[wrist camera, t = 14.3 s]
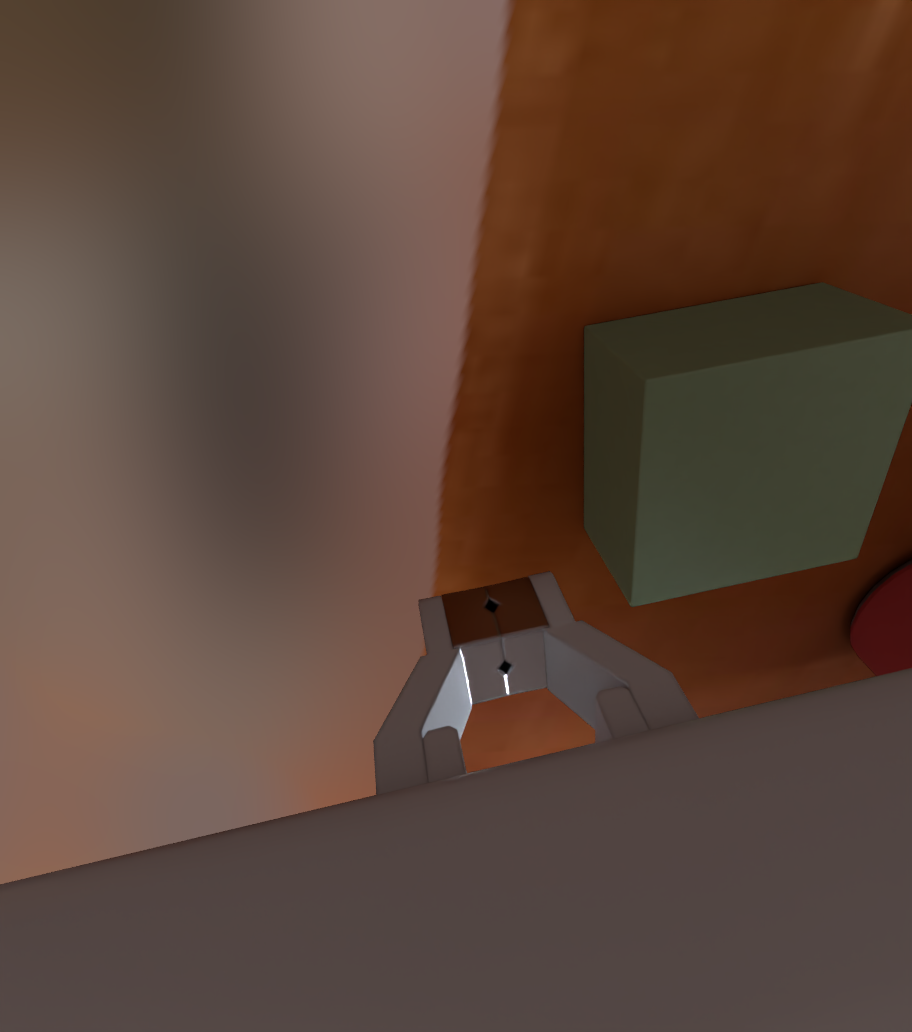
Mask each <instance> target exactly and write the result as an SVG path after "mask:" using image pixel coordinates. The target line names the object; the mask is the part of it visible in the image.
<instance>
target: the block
mask: <svg viewBox="0 0 912 1032" xmlns="http://www.w3.org/2000/svg"><path fill="white" fill-rule="evenodd" d="M911 403H912V315H911V314H908V313H906V312H903V311H900V310H897V309H895V308H892V307H889V306H886V305H884V304H881V303H878V302H875V301H873V300H870V299H867V298H864V297H862V296H859V295H856V294H853V293H851V292H848V291H845V290H842V289H840V288H837V287H834V286H831V285H829V284H826V283H823V282H822V283H816V284H811V285H805V286H800V287H795V288H789V289H784V290H778V291H773V292H767V293H762V294H757V295H751V296H746V297H740V298H735V299H729V300H724V301H718V302H713V303H708V304H702V305H697V306H691V307H686V308H680V309H675V310H670V311H664V312H659V313H653V314H648V315H642V316H637V317H631V318H626V319H621V320H615V321H610V322H604V323H599V324H593V325H588V326H585V327H584V529H585V530H586V532H587V534H588V535H589V537H590V539H591V541H592V542H593V544H594V546H595V547H596V549H597V551H598V552H599V554H600V556H601V557H602V559H603V561H604V562H605V564H606V566H607V567H608V569H609V571H610V573H611V574H612V576H613V578H614V579H615V581H616V583H617V584H618V586H619V588H620V589H621V591H622V593H623V594H624V596H625V598H626V599H627V601H628V603H629V605H630V606H631V607H635V606H639V605H644V604H649V603H653V602H658V601H662V600H667V599H672V598H676V597H681V596H685V595H690V594H695V593H699V592H704V591H708V590H713V589H718V588H722V587H727V586H731V585H736V584H741V583H745V582H750V581H755V580H759V579H764V578H768V577H773V576H778V575H782V574H787V573H791V572H796V571H801V570H805V569H810V568H814V567H819V566H824V565H828V564H833V563H837V562H842V561H847V560H851V559H856V558H857V557H858V554H859V551H860V549H861V546H862V543H863V540H864V537H865V534H866V532H867V529H868V526H869V523H870V520H871V517H872V514H873V512H874V509H875V506H876V503H877V500H878V497H879V494H880V492H881V489H882V486H883V483H884V480H885V477H886V474H887V472H888V469H889V466H890V463H891V460H892V457H893V455H894V452H895V449H896V446H897V443H898V440H899V437H900V435H901V432H902V429H903V426H904V423H905V420H906V417H907V415H908V412H909V409H910V406H911Z"/></svg>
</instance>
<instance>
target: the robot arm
mask: <svg viewBox="0 0 912 1032" xmlns="http://www.w3.org/2000/svg"><path fill="white" fill-rule="evenodd" d="M442 601H443V602H442ZM419 610H420V616H421V622H422V628H423V634H424V640H425V646H426V651H427V655H425V656H421V657H420V659H419V660H418V662H417V664H416V666H415V668H414V669H413V671H412V673H411V675H410V677H409V678H408V680H407V682H406V684H405V686H404V687H403V689H402V691H401V693H400V694H399V696H398V698H397V700H396V702H395V703H394V705H393V707H392V709H391V711H390V712H389V714H388V716H387V718H386V720H385V721H384V723H383V725H382V727H381V728H380V730H379V732H378V734H377V736H376V737H375V739H374V741H373V742H374V760H375V778H376V795H374V796H370V797H366V798H362V799H358V800H353V801H350V802H345V803H341V804H337V805H332V806H328V807H324V808H320V809H316V810H311V811H307V812H303V813H299V814H295V815H290V816H286V817H282V818H278V819H274V820H269V821H265V822H261V823H257V824H252V825H248V826H244V827H240V828H236V829H231V830H228V831H223V832H219V833H215V834H211V835H206V836H202V837H198V838H194V839H190V840H186V841H181V842H177V843H173V844H168V845H165V846H160V847H156V848H152V849H147V850H143V851H139V852H135V853H131V854H126V855H123V856H118V857H114V858H110V859H106V860H101V861H98V862H93V863H89V864H84V865H80V866H76V867H72V868H68V869H63V870H59V871H55V872H51V873H47V874H42V875H39V876H34V877H30V878H26V879H21V880H17V881H14V882H9V883H5V884H0V1032H912V668H909V669H905V670H901V671H897V672H893V673H888V674H884V675H880V676H876V677H871V678H867V679H863V680H859V681H855V682H850V683H846V684H842V685H838V686H834V687H829V688H825V689H821V690H817V691H812V692H808V693H804V694H800V695H796V696H791V697H787V698H783V699H779V700H774V701H770V702H766V703H762V704H758V705H753V706H749V707H745V708H741V709H737V710H732V711H728V712H724V713H720V714H715V715H711V716H707V717H703V718H698V716H697V714H696V712H695V711H694V709H693V707H692V706H691V704H690V702H689V701H688V699H687V697H686V696H685V694H684V692H683V691H682V689H681V687H680V686H679V684H678V682H677V681H676V679H675V677H674V676H673V674H672V672H670V671H668V670H666V669H665V668H663V667H661V666H660V665H658V664H656V663H654V662H653V661H651V660H649V659H648V658H646V657H644V656H642V655H641V654H639V653H637V652H635V651H634V650H632V649H630V648H629V647H627V646H625V645H623V644H622V643H620V642H618V641H617V640H615V639H613V638H611V637H610V636H608V635H606V634H604V633H603V632H601V631H599V630H598V629H596V628H594V627H592V626H591V625H589V624H587V623H586V622H584V621H582V620H581V621H577V622H575V620H574V618H573V615H572V613H571V611H570V609H569V607H568V605H567V603H566V601H565V599H564V596H563V594H562V592H561V590H560V588H559V586H558V584H557V582H556V580H555V578H554V575H553V574H552V573H551V572H550V571H548V572H544V573H540V574H536V575H531V576H528V577H524V578H519V579H515V580H510V581H506V582H502V583H497V584H493V585H488V586H484V587H480V588H475V589H469V590H464V591H459V592H454V593H449V594H444V595H442V598H441V596H436V597H431V598H426V599H421V600H419ZM542 688H548V690H549V691H550V692H551V693H553V694H554V695H555V696H556V697H557V698H558V699H560V700H561V701H562V702H563V703H564V704H566V705H567V706H568V707H569V708H570V709H571V710H573V711H574V712H575V713H576V714H577V715H579V716H580V717H581V718H582V719H583V720H584V721H586V722H587V723H588V724H589V725H590V726H592V727H593V728H594V729H595V743H593V744H589V745H585V746H581V747H577V748H572V749H568V750H564V751H560V752H556V753H551V754H547V755H543V756H539V757H534V758H530V759H526V760H522V761H518V762H513V763H509V764H505V765H501V766H497V767H492V768H488V769H484V770H480V771H475V772H471V773H467V771H466V767H465V762H464V758H463V753H462V749H461V744H460V739H461V736H462V733H463V731H464V728H465V725H466V722H467V720H468V717H469V714H470V711H471V708H472V705H473V704H477V703H481V702H485V701H489V700H492V699H496V698H500V697H504V696H508V695H513V694H518V693H523V692H527V691H532V690H537V689H542Z"/></svg>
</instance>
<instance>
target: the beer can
mask: <svg viewBox="0 0 912 1032" xmlns="http://www.w3.org/2000/svg"><path fill="white" fill-rule="evenodd" d="M850 643H851V646H852V648H853V649H854V651H855V652H856V654H857V656H858V657H859V658H860V659H861V660H862V661H863V662H864V663H865V664H866V665H867V666H868V668H869V669H870V670H871V671H872V672H873V673H874V674H875V675H876V676H880V675H884V674H888V673H893V672H897V671H901V670H905V669H909V668H912V560H910V561H908V562H907V563H905V564H903V565H902V566H900V567H899V568H897V569H895V570H894V571H892V572H890V573H889V574H888V575H887V576H886V577H884V578H883V579H882V580H881V581H880V582H879V583H877V584H876V585H875V586H874V587H873V588H872V589H871V590H870V591H869V593H868V594H867V595H866V596H865V598H864V599H863V600H862V601H861V603H860V604H859V606H858V608H857V610H856V612H855V615H854V617H853V619H852V621H851V628H850Z"/></svg>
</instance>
